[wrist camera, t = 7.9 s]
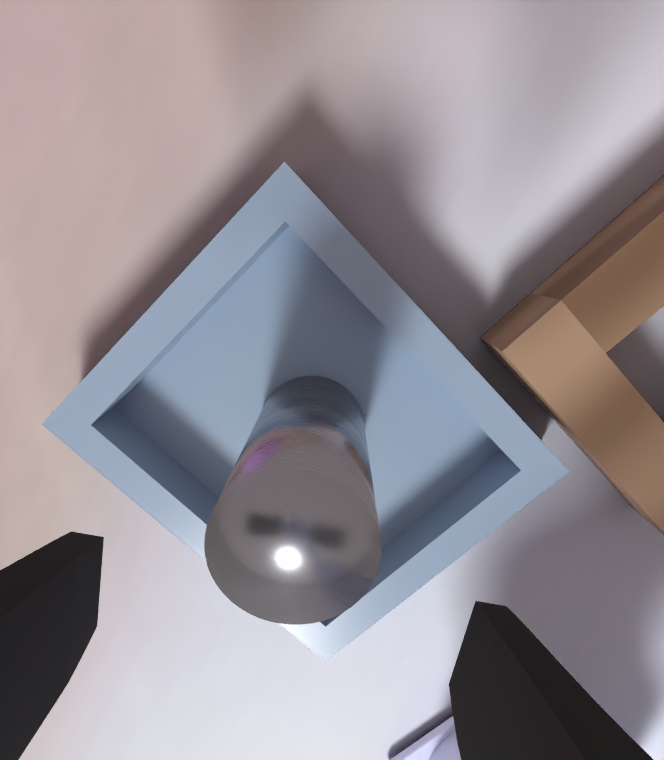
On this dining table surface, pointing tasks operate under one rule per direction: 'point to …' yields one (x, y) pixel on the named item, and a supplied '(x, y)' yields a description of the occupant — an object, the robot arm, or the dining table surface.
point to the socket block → (597, 350)
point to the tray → (296, 359)
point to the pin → (298, 509)
